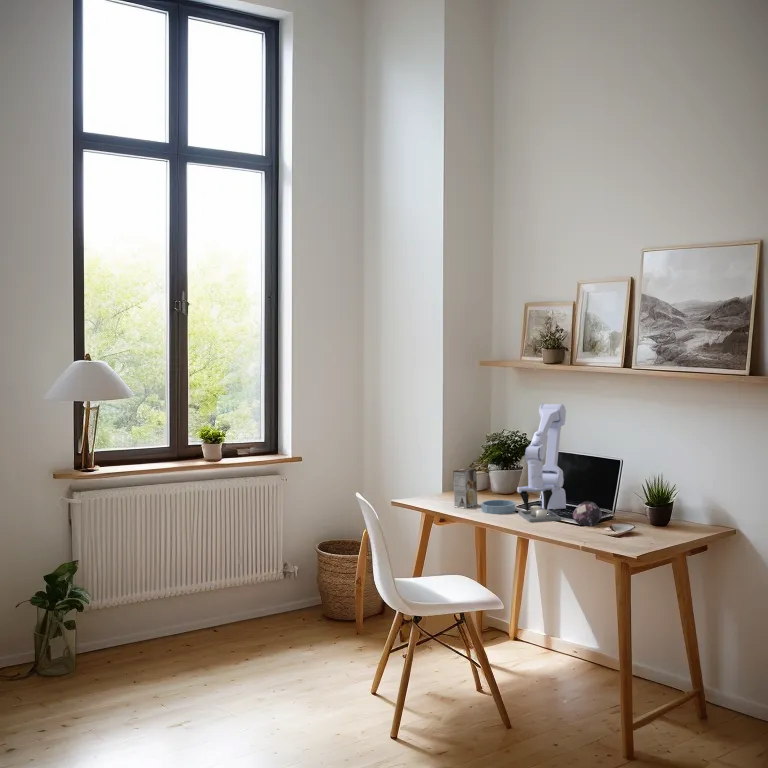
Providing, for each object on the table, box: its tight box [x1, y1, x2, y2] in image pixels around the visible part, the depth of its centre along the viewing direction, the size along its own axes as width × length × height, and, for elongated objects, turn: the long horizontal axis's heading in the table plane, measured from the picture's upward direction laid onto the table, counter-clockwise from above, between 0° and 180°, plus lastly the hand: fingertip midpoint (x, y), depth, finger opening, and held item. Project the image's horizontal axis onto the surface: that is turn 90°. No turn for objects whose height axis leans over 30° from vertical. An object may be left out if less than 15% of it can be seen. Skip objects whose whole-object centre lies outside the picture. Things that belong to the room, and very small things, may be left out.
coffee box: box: [452, 467, 478, 509], centre depth 374 cm, size 9×6×16 cm
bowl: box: [480, 499, 517, 515], centre depth 359 cm, size 14×14×4 cm
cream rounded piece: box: [536, 508, 547, 518], centre depth 340 cm, size 4×4×3 cm
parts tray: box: [518, 509, 561, 523], centre depth 343 cm, size 12×15×2 cm
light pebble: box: [530, 505, 543, 516], centre depth 346 cm, size 4×4×3 cm
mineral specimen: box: [572, 500, 603, 527], centre depth 329 cm, size 10×10×10 cm
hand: (536, 509), depth 346 cm, fingers open, 7 cm apart
